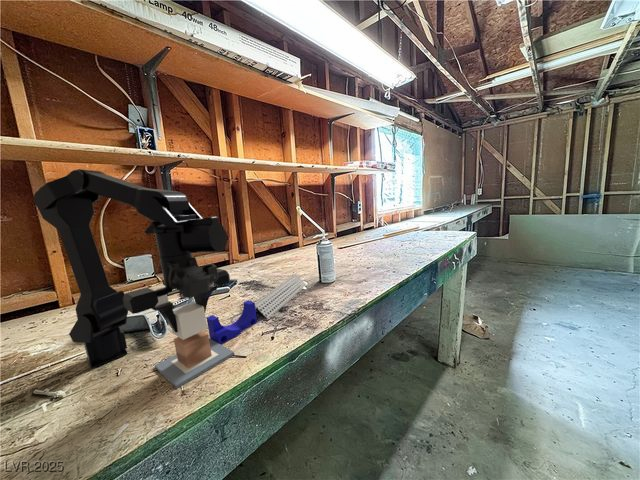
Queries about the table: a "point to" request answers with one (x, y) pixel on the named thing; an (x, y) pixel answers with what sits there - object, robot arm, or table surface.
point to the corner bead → (274, 294)
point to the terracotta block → (193, 349)
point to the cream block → (189, 320)
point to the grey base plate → (182, 374)
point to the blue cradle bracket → (233, 330)
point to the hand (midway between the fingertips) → (189, 326)
